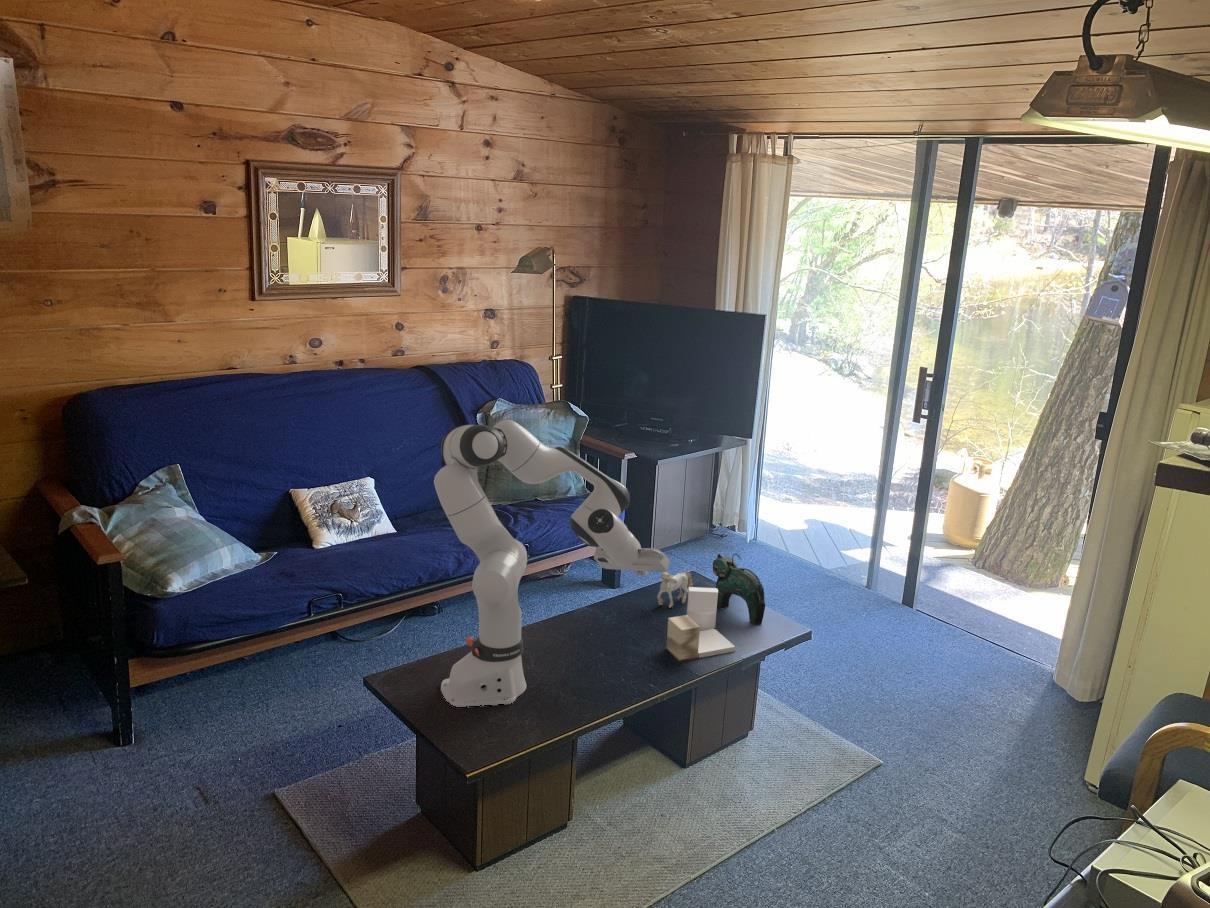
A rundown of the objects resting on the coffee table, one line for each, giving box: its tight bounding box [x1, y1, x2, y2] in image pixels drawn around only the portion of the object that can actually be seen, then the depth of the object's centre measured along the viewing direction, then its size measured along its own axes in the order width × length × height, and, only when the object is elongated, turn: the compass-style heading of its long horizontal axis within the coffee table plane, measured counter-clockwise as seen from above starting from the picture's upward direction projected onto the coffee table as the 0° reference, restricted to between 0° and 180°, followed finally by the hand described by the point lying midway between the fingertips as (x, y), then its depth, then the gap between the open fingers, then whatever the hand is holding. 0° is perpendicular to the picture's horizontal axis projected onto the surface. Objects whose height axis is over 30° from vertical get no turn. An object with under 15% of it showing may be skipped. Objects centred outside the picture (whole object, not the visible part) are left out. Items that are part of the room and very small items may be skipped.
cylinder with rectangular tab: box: [686, 586, 718, 631], centre depth 293 cm, size 9×9×12 cm
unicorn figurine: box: [656, 571, 694, 608], centre depth 305 cm, size 7×20×13 cm, turn 150°
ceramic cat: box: [712, 553, 766, 626], centre depth 301 cm, size 20×6×20 cm, turn 40°
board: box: [697, 628, 736, 659], centre depth 282 cm, size 12×12×2 cm
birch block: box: [665, 614, 700, 662], centre depth 276 cm, size 6×8×10 cm
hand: (643, 573), depth 269 cm, fingers closed
